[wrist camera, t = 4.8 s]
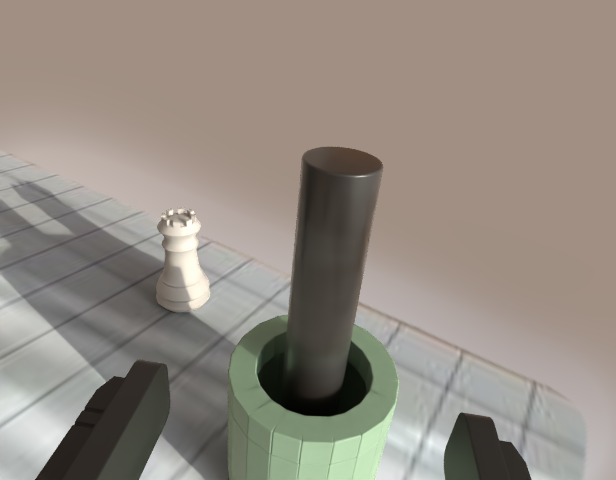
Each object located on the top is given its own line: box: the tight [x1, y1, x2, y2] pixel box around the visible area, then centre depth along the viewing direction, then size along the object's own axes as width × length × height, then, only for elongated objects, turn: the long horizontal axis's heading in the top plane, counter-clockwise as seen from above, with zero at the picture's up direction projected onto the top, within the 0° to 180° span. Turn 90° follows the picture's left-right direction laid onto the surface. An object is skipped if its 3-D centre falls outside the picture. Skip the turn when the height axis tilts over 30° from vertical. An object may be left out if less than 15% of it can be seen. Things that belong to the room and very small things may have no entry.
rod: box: [280, 147, 383, 417], centre depth 21 cm, size 4×4×18 cm
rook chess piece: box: [156, 208, 210, 313], centre depth 36 cm, size 4×4×8 cm
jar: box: [228, 315, 399, 480], centre depth 23 cm, size 8×8×8 cm
